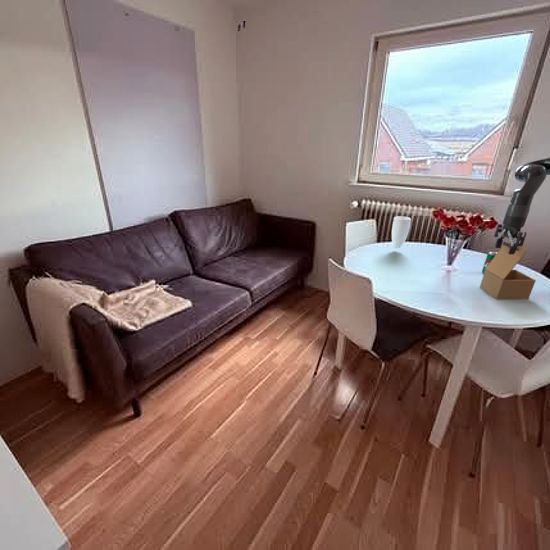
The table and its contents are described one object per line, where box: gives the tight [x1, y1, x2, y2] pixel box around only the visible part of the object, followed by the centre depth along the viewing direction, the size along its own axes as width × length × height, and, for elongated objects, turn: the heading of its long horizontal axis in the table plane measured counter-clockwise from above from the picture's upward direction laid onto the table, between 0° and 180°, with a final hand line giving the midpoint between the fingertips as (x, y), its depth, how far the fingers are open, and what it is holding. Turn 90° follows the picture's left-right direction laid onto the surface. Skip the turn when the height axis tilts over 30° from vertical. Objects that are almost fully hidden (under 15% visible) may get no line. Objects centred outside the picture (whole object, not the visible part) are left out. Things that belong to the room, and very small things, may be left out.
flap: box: [485, 239, 530, 280], centre depth 139 cm, size 16×12×5 cm
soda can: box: [481, 250, 498, 275], centre depth 165 cm, size 5×5×12 cm
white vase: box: [391, 215, 412, 249], centre depth 193 cm, size 10×10×22 cm
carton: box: [479, 269, 537, 300], centre depth 144 cm, size 15×12×10 cm
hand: (504, 250), depth 137 cm, fingers open, 8 cm apart
